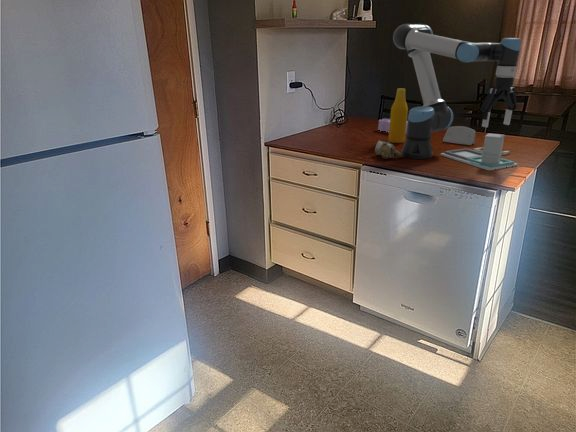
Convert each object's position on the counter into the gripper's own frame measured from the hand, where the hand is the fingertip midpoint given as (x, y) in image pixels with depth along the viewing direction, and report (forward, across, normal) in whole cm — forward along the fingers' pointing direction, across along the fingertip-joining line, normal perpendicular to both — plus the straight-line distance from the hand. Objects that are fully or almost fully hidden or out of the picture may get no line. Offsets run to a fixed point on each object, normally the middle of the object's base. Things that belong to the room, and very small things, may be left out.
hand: (495, 125), depth 197 cm
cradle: (+18, +18, +15) cm, 29 cm away
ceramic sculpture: (+19, -36, +30) cm, 50 cm away
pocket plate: (+18, 0, +7) cm, 19 cm away
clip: (+19, +7, +80) cm, 82 cm away
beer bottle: (+19, -9, +57) cm, 60 cm away
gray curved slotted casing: (+18, +22, +40) cm, 49 cm away
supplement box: (+17, 0, -1) cm, 17 cm away
